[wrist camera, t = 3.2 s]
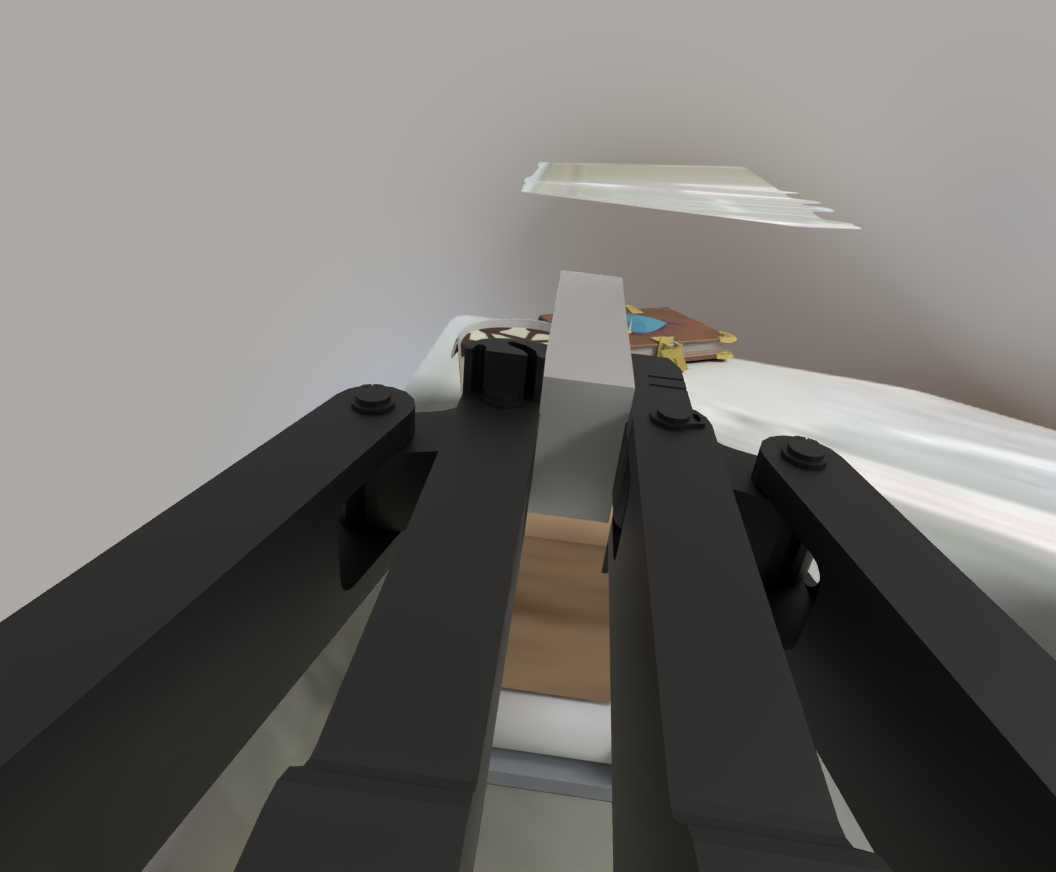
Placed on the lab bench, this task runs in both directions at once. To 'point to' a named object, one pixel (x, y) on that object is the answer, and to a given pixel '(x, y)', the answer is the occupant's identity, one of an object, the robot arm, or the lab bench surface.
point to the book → (671, 336)
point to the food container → (500, 335)
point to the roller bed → (550, 774)
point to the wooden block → (561, 610)
